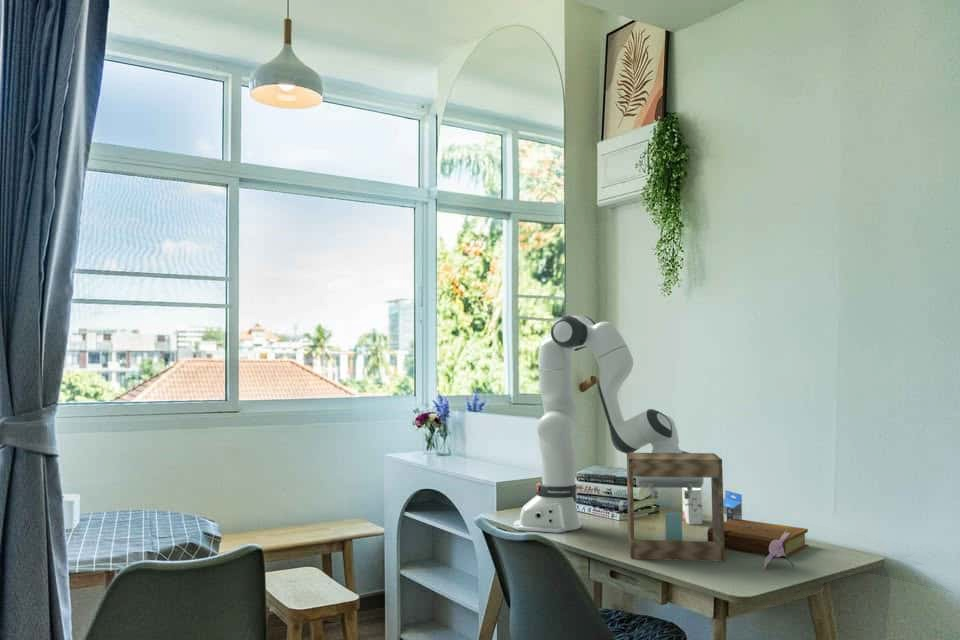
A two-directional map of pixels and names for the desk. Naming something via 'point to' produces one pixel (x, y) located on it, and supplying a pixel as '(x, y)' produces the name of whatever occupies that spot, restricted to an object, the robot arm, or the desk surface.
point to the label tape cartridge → (732, 506)
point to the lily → (776, 549)
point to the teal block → (673, 526)
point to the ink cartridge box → (692, 506)
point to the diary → (760, 537)
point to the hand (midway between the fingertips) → (671, 497)
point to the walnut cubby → (678, 468)
